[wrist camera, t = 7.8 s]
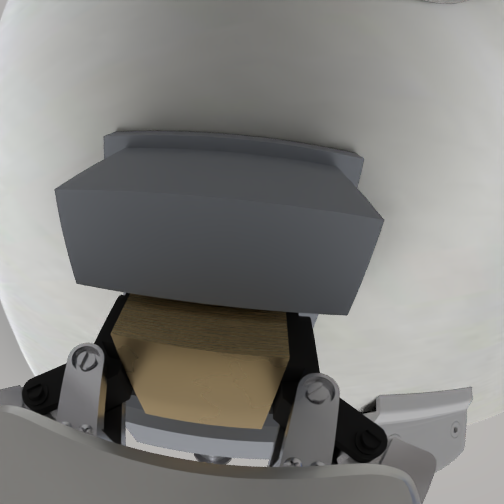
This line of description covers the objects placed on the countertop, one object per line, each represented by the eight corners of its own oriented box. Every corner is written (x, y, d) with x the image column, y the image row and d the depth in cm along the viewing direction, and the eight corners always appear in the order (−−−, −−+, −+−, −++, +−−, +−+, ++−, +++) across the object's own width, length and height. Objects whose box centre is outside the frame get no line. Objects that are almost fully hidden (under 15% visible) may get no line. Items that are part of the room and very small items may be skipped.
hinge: (473, 386, 23) (474, 459, 16) (447, 396, 26) (447, 463, 20) (376, 395, 21) (371, 496, 15) (349, 403, 24) (343, 490, 18)
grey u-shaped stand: (114, 131, 10) (15, 178, 5) (355, 153, 10) (434, 216, 5) (161, 400, 22) (149, 458, 17) (272, 413, 22) (272, 472, 17)
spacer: (158, 242, 10) (110, 333, 6) (280, 255, 10) (289, 358, 6) (168, 331, 13) (145, 413, 9) (262, 342, 13) (261, 429, 9)
